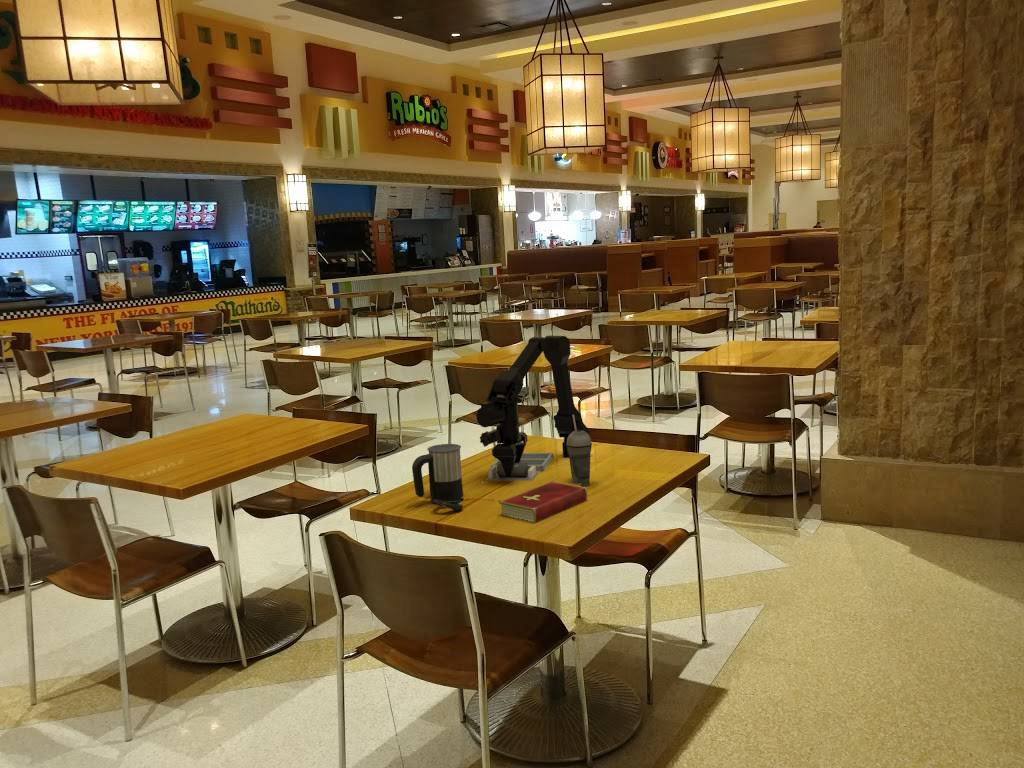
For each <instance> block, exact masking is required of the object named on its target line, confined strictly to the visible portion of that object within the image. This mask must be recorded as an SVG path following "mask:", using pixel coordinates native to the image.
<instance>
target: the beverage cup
mask: <svg viewBox="0 0 1024 768" xmlns="http://www.w3.org/2000/svg"><path fill="white" fill-rule="evenodd" d="M572 416H573V422H574V428H575V431H573V432H572V433H570V434H569V436H568V438H567V444H566V446H567V450H568V453H569V458H568V460H569V466H570V473H571V480H572V483H574V484H579V486H584V487H587V485H588V486H589V485H590V479H591V476H590V475H591V455H592V454H591V453H592V446H593V443H592V439H591V437H590V434H589V435H588V434H587V433H586V432H585V431H583V430H577V428H576V423H575V417H574V415H572Z"/></svg>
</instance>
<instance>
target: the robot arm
mask: <svg viewBox="0 0 1024 768" xmlns="http://www.w3.org/2000/svg"><path fill="white" fill-rule="evenodd" d="M571 351H572V350H571V341H570V339H569V338H568V337H567V336H566V335H552V334H551V335H546V336H545V337H543V336H542V337H541V336H532V337H530V338H529V339H528V342H527V344H526V346H525V347H524V348H523V350H522V351H521V352H520V354H519V355H518V356H517V358H516V359H515V360H514V362H513V363H512V364H511V366H510V367H509V368H508V369H507V370H504V371H503V372H501V373H500V374H498V376H497V377H496V378H494V381H493V382H492V386H491V389H490V391H489V393H488V396H487V398H486V402H481V403H480V408H478V410H477V412H476V421H477V423H478V424H479V425H480V427H482V428H489V427H492V426H495V425H496V427H495V428H496V429H495V428H494V429H493V430H490V431H485V432H482V433H481V434H480V437H479V439H480V440H479V443H481V444H482V445H483V447H485V448H486V447H488V446H489V445H492V444H494V443H496V445H495V446H494V447H493V448H492V449H491V456H492V457H494V459H496V460H497V459H498V460H500V462H501V464H502V467H503V469H504V472H505V475H506V477H510V476H511V473H512V469H513V465H514V463H520V460H521V457H522V454H523V453H525V452H524V450H525V449H526V446H527V443H528V441H529V440H528V434H527V433H526V432H524V431H520V427H521V421H519V408H518V404H521V403H523V400H522V399H521V398H520V397H519V395H520V393H521V391H522V389H523V386H524V379H525V377H526V376H527V375H528V373H529V371H531V368H532V367H533V366H534V364H535V363H536V362H537V361H538V359H539V358H540V356H541V355H542V353H543V357H544V358H545V359H546V360H547V362H548V363H549V364H550V365H551V366H550V367H551V371H552V372H551V374H552V378H553V383H554V390H555V395H556V400H557V401H556V402H557V407H558V409H557V412H556V414H554V415H553V421H554V428H555V429H556V431H557V434H558V437H559V438H563V442H562V445H561V446H562V456H563V458H564V459H566V458H567V459H569V453H568V450H567V446H566V444H567V438H568V436H569V434H570V433H572V432H573V431H575V428H574V422H573V416H572V415H574V417H575V423H576V428H577V430H583V431H585V432H586V433H587V434H588V435H589V436H590V434H591V430H590V429H589V427H587V425H586V424H585V423H584V421H583V417H582V414H581V413H580V411H579V409H577V407H576V406H575V401H574V397H573V389H572V384H571V378H570V371H569V366H568V361H569V358H570V357H571V354H572V353H571Z"/></svg>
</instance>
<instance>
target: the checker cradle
mask: <svg viewBox="0 0 1024 768" xmlns="http://www.w3.org/2000/svg"><path fill="white" fill-rule="evenodd" d="M538 474H539V472H537V471H536V466H531V468H530V469H529V470H528V476H527V477H499V476H498V474H497V473H496V466H492V467H491V466H490V468H488V469H487V476H488V477H487V478H486V479H485V480H486V481H534V479H535V478H536V477H537V476H538Z"/></svg>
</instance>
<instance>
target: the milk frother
mask: <svg viewBox="0 0 1024 768" xmlns="http://www.w3.org/2000/svg"><path fill="white" fill-rule="evenodd" d="M461 447H462V446H461V445H459V444H455V443H441V444H435V445H431V446H428V447H426V448H427V449H426V450H427V451H428V453H427V454H423V455H419V456H418V457H416V458H415V460H414V461H413V462H412V466H411V472H412V478H413V479H412V480H413V484H414V485H413V486H414V491H415V492H414V493H415V495H416V496H417V497H420V498H421V497H424V496H425V488H424V487H425V486H424V480H423V473H422V467H423V466H424V465H425V464H427V465H428V466H427V467H428V481H429V496H430V502H431V503H433V504H436V505H440V506H443V507H446V508H448V509H449V510H453V511H455V512H456V511H457V510H458V509H463V508H464V505H463V503H460V502H462V501H464V500H465V498H464V489H463V487H464V486H463V477H462V459H461Z"/></svg>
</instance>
